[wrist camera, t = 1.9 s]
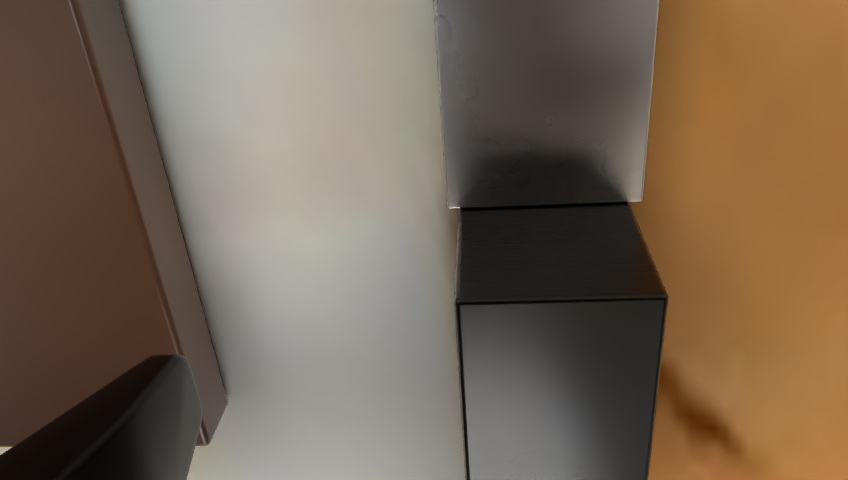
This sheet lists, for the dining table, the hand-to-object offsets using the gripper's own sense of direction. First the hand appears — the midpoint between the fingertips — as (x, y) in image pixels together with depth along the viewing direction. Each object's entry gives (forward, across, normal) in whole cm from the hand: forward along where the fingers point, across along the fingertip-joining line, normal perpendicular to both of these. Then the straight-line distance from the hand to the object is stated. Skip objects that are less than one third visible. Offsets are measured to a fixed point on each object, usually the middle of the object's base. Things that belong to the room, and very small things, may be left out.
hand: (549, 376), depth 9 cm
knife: (+2, 0, -3) cm, 3 cm away
